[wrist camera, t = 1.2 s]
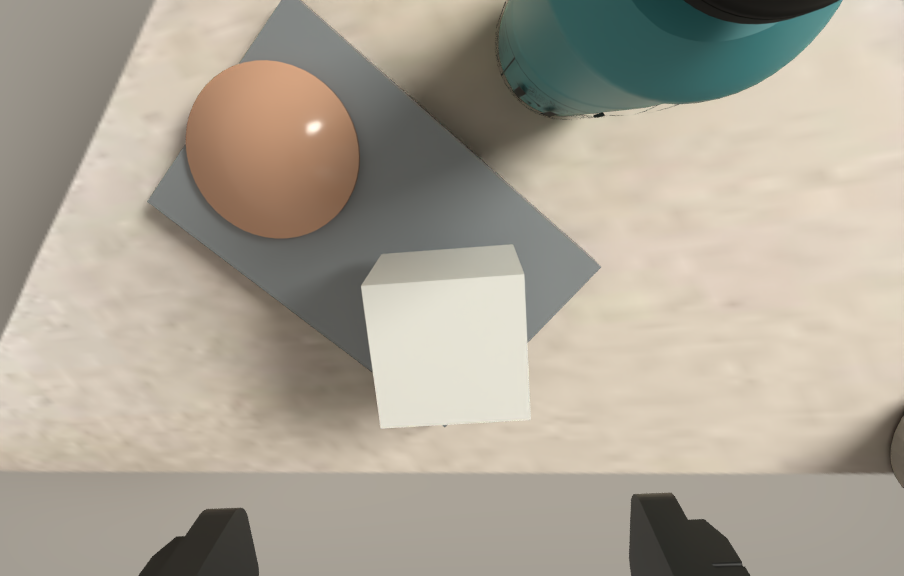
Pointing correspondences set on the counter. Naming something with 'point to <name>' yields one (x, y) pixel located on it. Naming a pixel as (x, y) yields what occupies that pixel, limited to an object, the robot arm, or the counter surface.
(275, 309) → the counter surface
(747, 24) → the beverage bottle
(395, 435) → the counter surface
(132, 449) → the counter surface
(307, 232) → the tan flat disc
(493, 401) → the off-white matte cube
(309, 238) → the post board
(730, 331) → the counter surface
